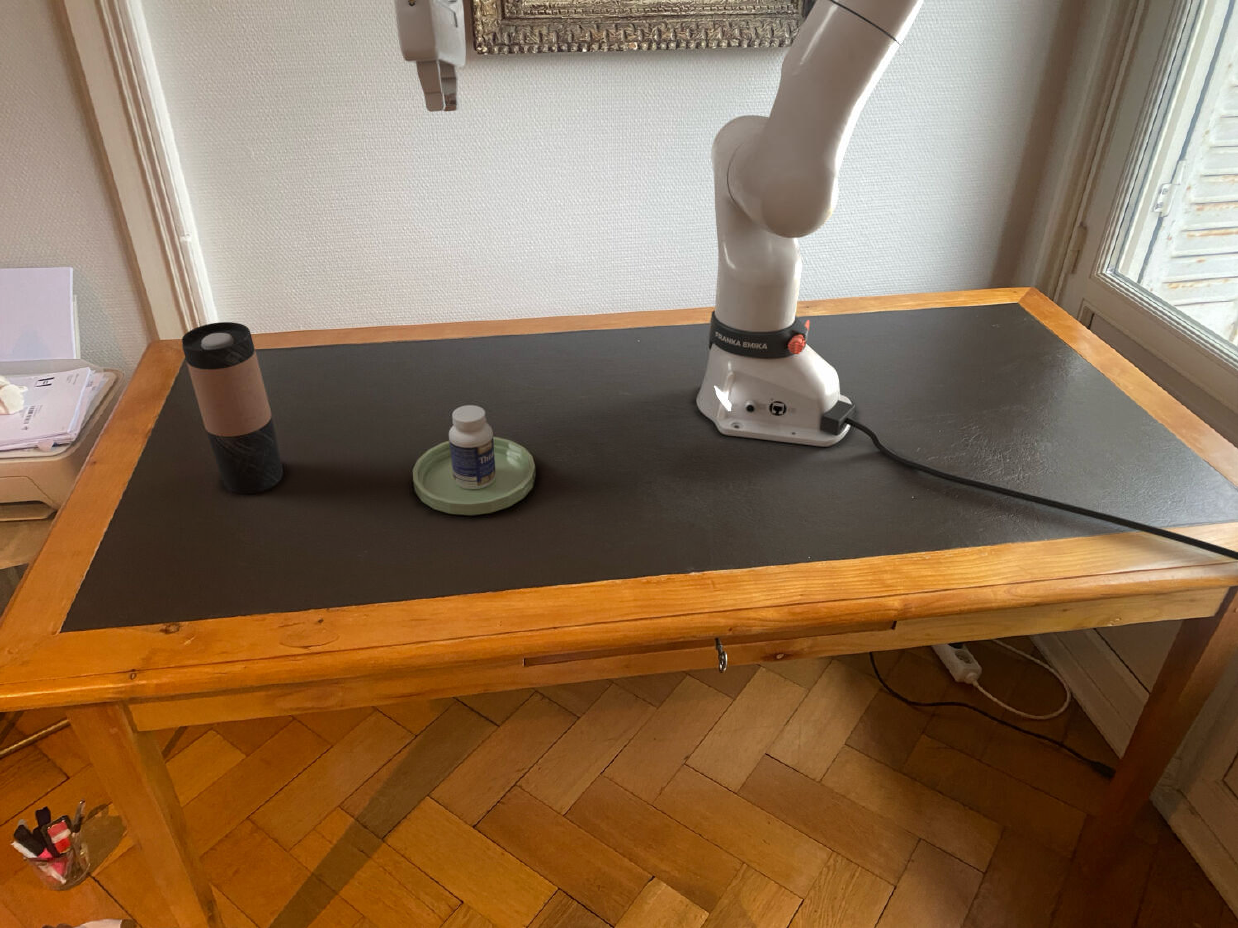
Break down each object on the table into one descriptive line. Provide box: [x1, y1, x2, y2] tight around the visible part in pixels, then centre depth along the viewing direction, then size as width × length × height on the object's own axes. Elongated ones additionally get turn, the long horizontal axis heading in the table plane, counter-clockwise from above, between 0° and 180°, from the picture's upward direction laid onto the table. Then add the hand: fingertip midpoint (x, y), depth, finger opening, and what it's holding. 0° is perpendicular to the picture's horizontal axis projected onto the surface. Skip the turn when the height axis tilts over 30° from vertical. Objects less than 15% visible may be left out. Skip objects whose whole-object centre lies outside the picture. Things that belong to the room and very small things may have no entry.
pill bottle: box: [448, 404, 496, 489], centre depth 110 cm, size 5×5×10 cm
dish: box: [412, 436, 537, 516], centre depth 112 cm, size 15×15×2 cm
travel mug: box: [181, 321, 284, 495], centre depth 107 cm, size 8×8×20 cm
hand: (444, 111), depth 96 cm, fingers open, 8 cm apart
